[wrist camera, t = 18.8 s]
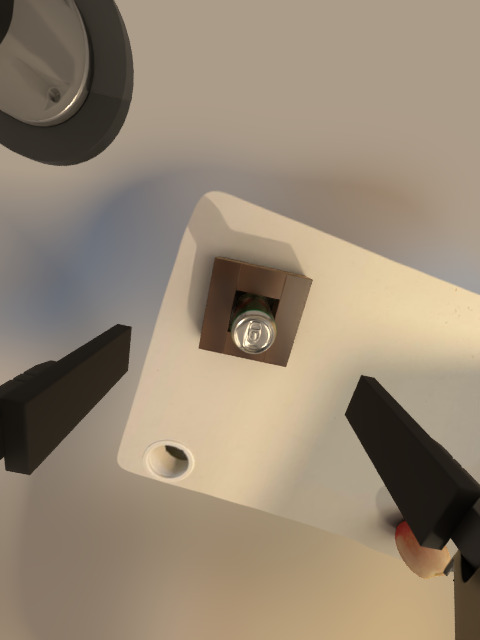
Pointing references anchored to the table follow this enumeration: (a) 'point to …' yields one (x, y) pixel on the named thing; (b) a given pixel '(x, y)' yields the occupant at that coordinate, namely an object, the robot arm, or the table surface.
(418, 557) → the fruit
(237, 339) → the soda can
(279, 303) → the holder
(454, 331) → the table surface
